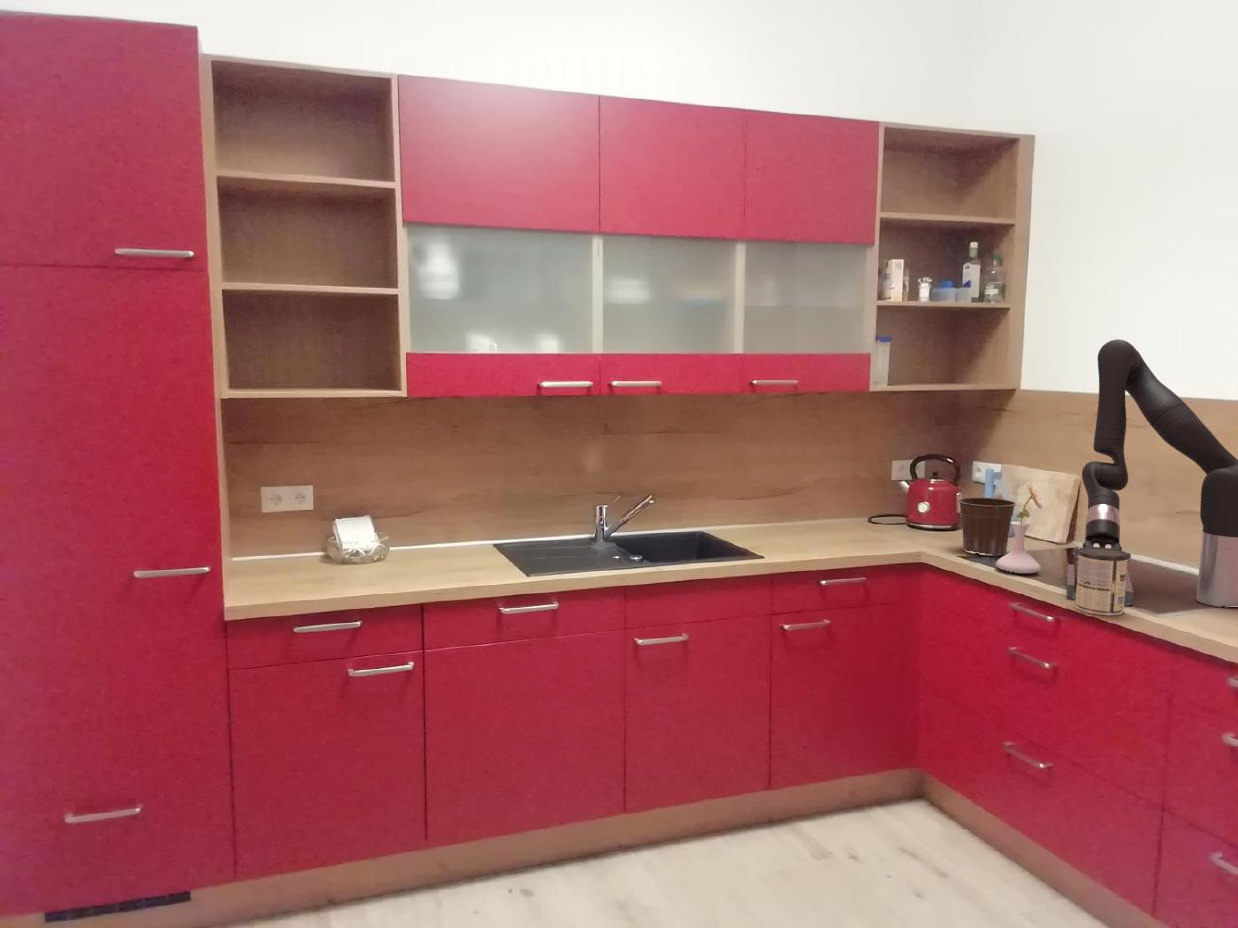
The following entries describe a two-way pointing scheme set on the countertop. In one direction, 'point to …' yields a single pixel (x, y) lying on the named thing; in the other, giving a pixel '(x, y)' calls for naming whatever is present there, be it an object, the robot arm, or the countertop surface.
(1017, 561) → the flower in vase
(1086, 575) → the coffee can
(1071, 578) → the grey frame
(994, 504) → the plant pot
